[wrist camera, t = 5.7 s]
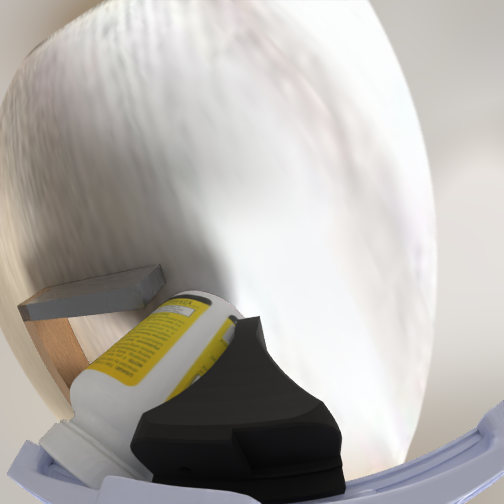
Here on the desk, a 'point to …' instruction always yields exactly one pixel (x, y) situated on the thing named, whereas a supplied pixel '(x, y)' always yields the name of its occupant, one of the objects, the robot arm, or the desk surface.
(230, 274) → the desk surface
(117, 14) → the desk surface
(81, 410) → the supplement bottle
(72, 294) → the bracket
